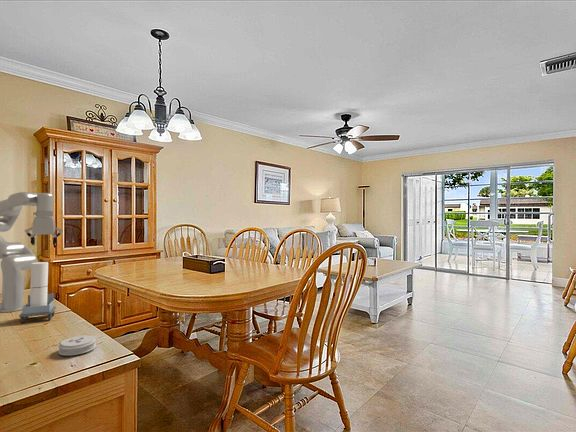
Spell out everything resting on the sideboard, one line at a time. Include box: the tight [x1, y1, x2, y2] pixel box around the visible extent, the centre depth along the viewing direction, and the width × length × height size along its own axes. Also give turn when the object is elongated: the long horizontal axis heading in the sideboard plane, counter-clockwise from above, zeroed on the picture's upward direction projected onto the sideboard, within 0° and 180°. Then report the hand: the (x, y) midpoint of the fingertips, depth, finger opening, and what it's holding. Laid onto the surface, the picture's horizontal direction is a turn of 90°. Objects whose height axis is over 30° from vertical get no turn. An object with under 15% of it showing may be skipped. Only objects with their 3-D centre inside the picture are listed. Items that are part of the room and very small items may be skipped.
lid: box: [57, 335, 97, 356], centre depth 127 cm, size 13×13×5 cm
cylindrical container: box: [29, 261, 49, 307], centre depth 167 cm, size 7×7×25 cm
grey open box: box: [18, 293, 57, 324], centre depth 166 cm, size 12×13×12 cm
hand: (43, 244), depth 180 cm, fingers open, 9 cm apart
